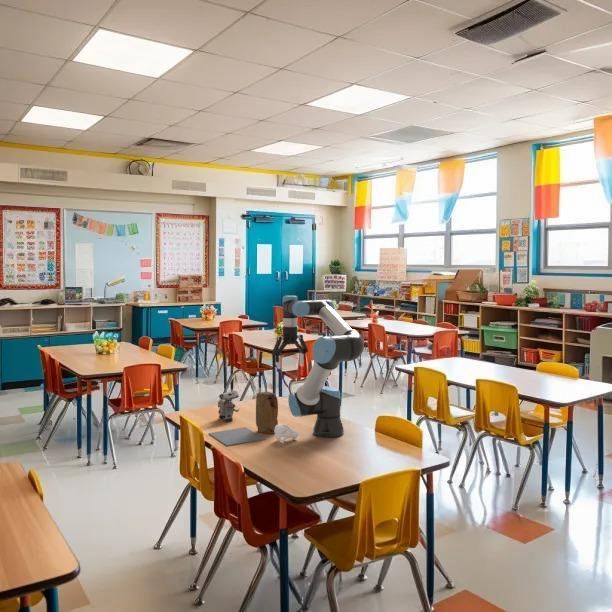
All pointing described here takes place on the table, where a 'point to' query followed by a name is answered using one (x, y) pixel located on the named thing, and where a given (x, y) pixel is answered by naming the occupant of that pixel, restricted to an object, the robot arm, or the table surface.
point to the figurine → (227, 405)
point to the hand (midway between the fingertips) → (290, 367)
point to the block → (266, 412)
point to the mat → (236, 436)
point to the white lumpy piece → (284, 432)
